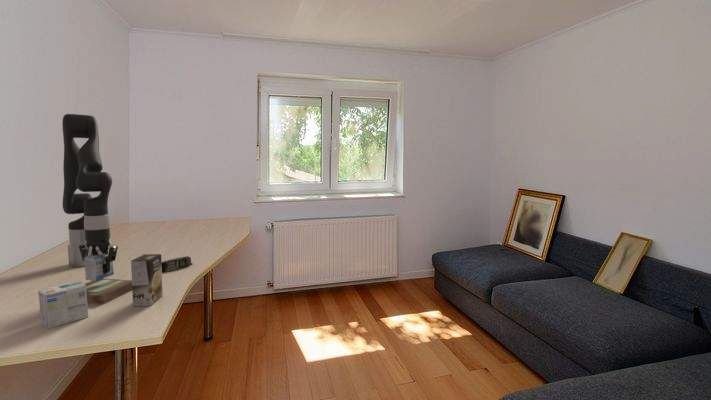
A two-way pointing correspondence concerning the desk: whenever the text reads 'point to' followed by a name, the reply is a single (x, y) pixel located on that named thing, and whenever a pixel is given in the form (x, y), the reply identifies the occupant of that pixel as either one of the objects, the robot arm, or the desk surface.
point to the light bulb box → (63, 304)
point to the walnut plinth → (106, 290)
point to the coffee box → (146, 279)
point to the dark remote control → (176, 263)
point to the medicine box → (96, 268)
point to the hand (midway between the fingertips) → (99, 272)
